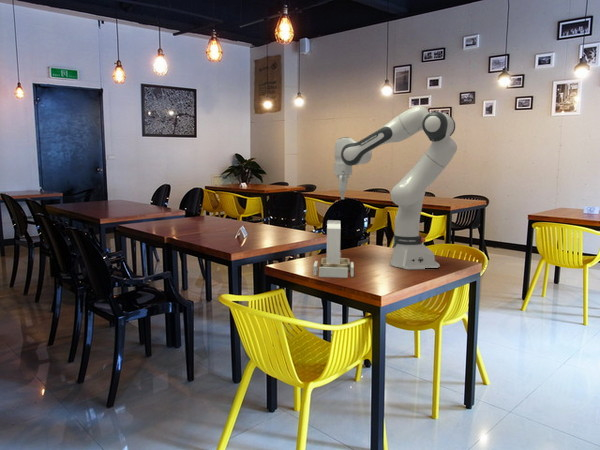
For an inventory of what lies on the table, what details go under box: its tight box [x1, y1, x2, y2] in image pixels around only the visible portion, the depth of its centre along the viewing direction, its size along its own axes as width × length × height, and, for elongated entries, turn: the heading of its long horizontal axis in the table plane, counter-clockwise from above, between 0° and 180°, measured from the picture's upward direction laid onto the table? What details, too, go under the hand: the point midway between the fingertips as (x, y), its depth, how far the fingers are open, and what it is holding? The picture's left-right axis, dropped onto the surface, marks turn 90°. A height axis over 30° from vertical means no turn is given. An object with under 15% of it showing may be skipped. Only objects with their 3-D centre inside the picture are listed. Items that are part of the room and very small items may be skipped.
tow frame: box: [320, 251, 351, 272], centre depth 229 cm, size 13×25×4 cm, turn 176°
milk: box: [326, 219, 342, 264], centre depth 219 cm, size 6×6×22 cm
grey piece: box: [312, 260, 355, 279], centre depth 211 cm, size 17×12×4 cm
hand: (342, 199), depth 242 cm, fingers closed
